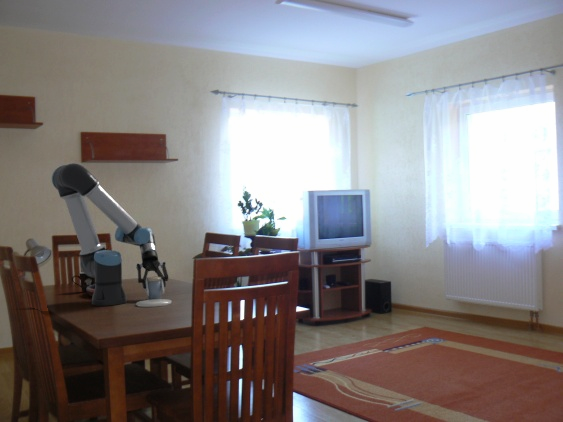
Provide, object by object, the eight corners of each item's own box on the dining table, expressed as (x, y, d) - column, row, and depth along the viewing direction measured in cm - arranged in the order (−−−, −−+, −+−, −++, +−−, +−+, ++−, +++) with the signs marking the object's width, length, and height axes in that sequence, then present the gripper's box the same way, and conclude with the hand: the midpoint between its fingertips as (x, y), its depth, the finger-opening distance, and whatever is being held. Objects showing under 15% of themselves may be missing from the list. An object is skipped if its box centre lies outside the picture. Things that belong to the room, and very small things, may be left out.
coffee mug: (99, 290, 320) (99, 271, 320) (93, 292, 312) (92, 273, 311) (78, 290, 321) (78, 271, 321) (71, 293, 313) (70, 273, 313)
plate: (142, 308, 255) (142, 305, 255) (132, 304, 268) (132, 301, 268) (176, 304, 262) (176, 302, 262) (164, 300, 275) (164, 298, 275)
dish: (117, 290, 319) (117, 280, 319) (120, 298, 290) (119, 287, 290) (86, 292, 314) (86, 283, 314) (86, 300, 285) (85, 290, 285)
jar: (150, 300, 275) (149, 278, 275) (145, 299, 281) (145, 277, 281) (163, 299, 278) (163, 277, 278) (159, 297, 284) (158, 276, 284)
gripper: (168, 258, 297) (175, 296, 282) (128, 261, 290) (133, 299, 275) (170, 248, 292) (177, 286, 277) (129, 250, 285) (134, 289, 270)
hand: (155, 292), depth 276 cm, fingers closed on jar, 6 cm apart
